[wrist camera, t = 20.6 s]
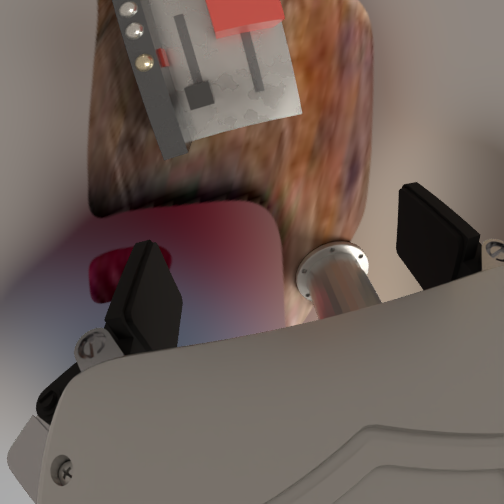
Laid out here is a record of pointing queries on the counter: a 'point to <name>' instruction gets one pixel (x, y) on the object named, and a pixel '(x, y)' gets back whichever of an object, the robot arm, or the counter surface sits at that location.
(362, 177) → the counter surface
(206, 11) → the grey slider control panel
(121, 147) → the counter surface
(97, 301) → the counter surface
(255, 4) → the matte red cuboid
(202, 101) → the block
